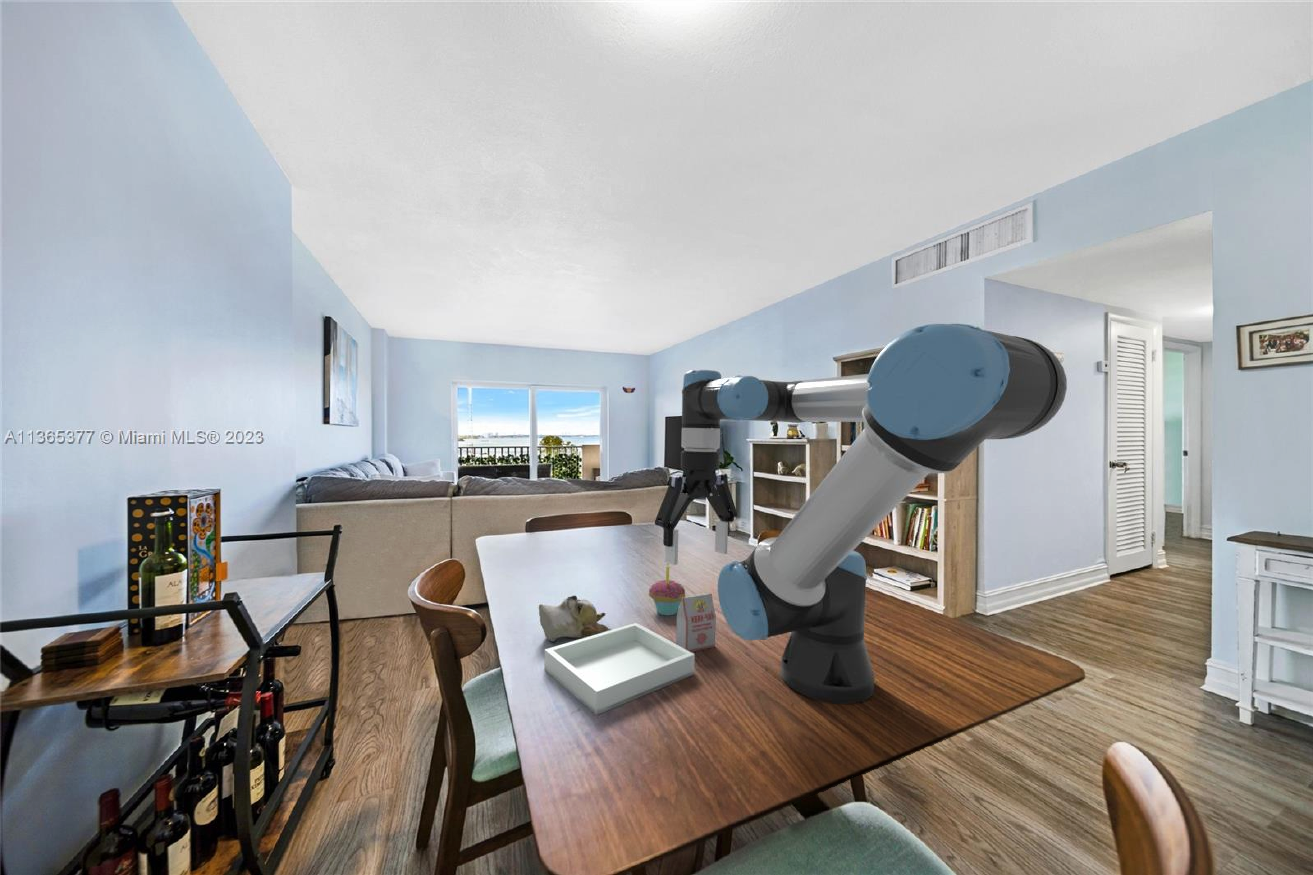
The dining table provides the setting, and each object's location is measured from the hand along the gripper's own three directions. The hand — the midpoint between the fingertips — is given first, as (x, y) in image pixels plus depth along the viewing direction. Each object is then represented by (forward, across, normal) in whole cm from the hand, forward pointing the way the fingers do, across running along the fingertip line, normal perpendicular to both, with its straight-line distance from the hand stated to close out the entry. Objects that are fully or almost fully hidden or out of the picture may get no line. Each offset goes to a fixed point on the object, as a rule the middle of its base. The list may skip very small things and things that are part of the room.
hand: (697, 557), depth 95 cm
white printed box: (+18, 0, 0) cm, 18 cm away
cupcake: (+18, -7, -17) cm, 25 cm away
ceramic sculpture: (+18, +17, -18) cm, 30 cm away
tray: (+17, +18, 0) cm, 25 cm away
